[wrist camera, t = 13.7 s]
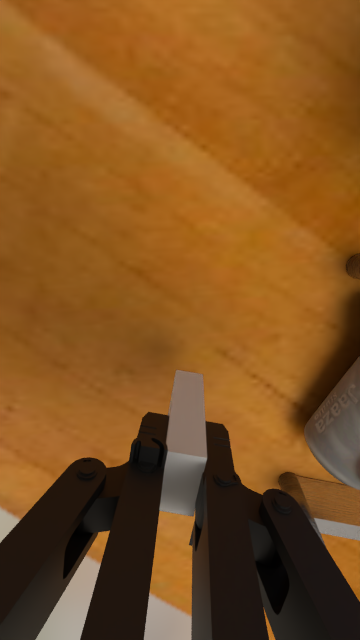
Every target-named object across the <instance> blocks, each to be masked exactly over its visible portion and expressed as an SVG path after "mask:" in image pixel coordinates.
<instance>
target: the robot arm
mask: <svg viewBox="0 0 360 640" xmlns="http://www.w3.org/2000/svg"><path fill="white" fill-rule="evenodd" d="M159 511H165V512H171V513H177V514H182V515H188V516H193V515H194V511H195V522H194V526H193V530H192V535H191V539H190V543H189V545H191V546H192V544H193V554H192V640H269V637H268V631H267V626H266V620H265V614H264V610H265V612H266V615H267V618H268V620H269V623H270V626H271V628H272V631H273V634H274V637H275V639H276V640H360V602H359V600H358V599H357V597H356V595H355V594H354V592H353V591H352V589H351V587H350V586H349V584H348V583H347V581H346V579H345V578H344V576H343V575H342V573H341V571H340V570H339V568H338V566H337V565H336V563H335V562H334V560H333V558H332V557H331V555H330V554H329V552H328V550H327V549H326V547H325V546H324V544H323V542H322V541H321V539H320V537H319V536H318V534H317V533H316V531H315V529H314V528H313V526H312V525H311V523H310V521H309V520H308V518H307V517H306V515H305V513H304V512H303V510H302V508H301V507H300V505H299V504H298V502H297V501H296V500H295V499H294V498H293V497H292V496H291V495H289V494H288V493H286V492H284V491H282V490H279V489H269V490H267V491H265V492H264V493H263V495H261V494H259V493H257V492H254V491H252V490H250V489H248V488H247V487H245V486H244V485H243V484H242V483H241V480H240V478H239V476H238V475H237V474H236V473H235V471H234V465H233V459H232V452H231V448H230V441H229V434H228V431H227V429H226V428H225V427H224V425H223V424H219V423H213V422H207V421H205V406H204V387H203V374H198V373H192V372H187V371H181V370H176V374H175V379H174V385H173V390H172V395H171V401H170V406H169V412H168V415H163V414H157V413H152V412H148V413H147V414H146V415H145V416H144V417H143V418H142V422H141V425H140V429H139V433H138V436H137V438H136V439H134V441H133V443H132V445H131V452H130V458H129V461H128V462H126V463H125V464H123V465H121V466H117V467H110V468H106V466H105V465H104V463H103V462H101V461H100V460H98V459H95V458H82V459H79V460H76V461H75V462H73V463H72V464H71V465H70V466H69V467H68V468H67V469H66V470H65V471H64V473H63V474H62V475H61V476H60V477H59V478H58V479H57V480H56V481H55V483H54V484H53V485H52V486H51V487H50V488H49V489H48V490H47V491H46V493H45V494H44V495H43V496H42V497H41V498H40V499H39V500H38V501H37V503H36V504H35V505H34V506H33V507H32V508H31V509H30V510H29V512H28V513H27V514H26V515H25V516H24V517H23V518H22V519H21V520H20V522H19V523H18V524H17V525H16V526H15V527H14V528H13V530H11V532H10V533H9V534H8V535H7V536H6V537H5V538H4V539H3V540H2V542H1V543H0V640H35V639H36V638H37V636H38V634H39V633H40V631H41V629H42V628H43V626H44V624H45V623H46V621H47V619H48V617H49V616H50V614H51V612H52V611H53V609H54V607H55V606H56V604H57V602H58V601H59V599H60V597H61V596H62V594H63V592H64V591H65V589H66V587H67V585H68V584H69V582H70V580H71V579H72V577H73V575H74V574H75V572H76V570H77V568H78V567H79V565H80V564H81V562H82V560H83V559H84V557H85V555H86V554H87V552H88V550H89V549H90V547H91V545H92V543H93V542H94V540H95V538H96V537H97V535H98V532H103V531H109V530H110V533H109V537H108V540H107V544H106V548H105V551H104V555H103V558H102V562H101V566H100V570H99V573H98V577H97V580H96V584H95V588H94V592H93V595H92V599H91V602H90V606H89V609H88V613H87V617H86V620H85V624H84V628H83V631H82V635H81V639H80V640H144V632H145V623H146V615H147V607H148V599H149V591H150V583H151V574H152V566H153V558H154V550H155V542H156V534H157V525H158V517H159ZM263 607H264V609H263Z"/></svg>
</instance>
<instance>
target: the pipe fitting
mask: <svg viewBox="0 0 360 640" xmlns="http://www.w3.org/2000/svg"><path fill="white" fill-rule="evenodd" d="M304 435H305V439H306V442H307V444H308V446H309V448H310V450H311V452H312V453H313V455H314V457H315V458H316V459H317V461H318V462H319V463H320V464H321V465H322V466H323V467H324V468H325V469H326V470H327V471H328V472H329V473H330V474H331V475H333V476H334V477H335V478H336V479H338V480H339V481H341V482H342V483H344V484H346V485H348V486H350V487H352V488H355V489H357V490H360V356H359V357H358V358H357V360H356V361H355V362H354V363H353V365H352V366H351V367H350V368H349V370H348V371H347V372H346V373H345V375H344V376H343V377H342V379H341V380H340V381H339V382H338V384H337V385H336V386H335V387H334V389H333V390H332V391H331V392H330V394H329V395H328V396H327V397H326V399H325V400H324V401H323V402H322V404H321V405H320V406H319V407H318V409H317V410H316V411H315V413H314V414H313V415H312V417H311V418H310V419H309V421H308V422H307V424H306V425H305V428H304Z"/></svg>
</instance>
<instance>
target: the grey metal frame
mask: <svg viewBox="0 0 360 640" xmlns="http://www.w3.org/2000/svg"><path fill="white" fill-rule="evenodd" d="M346 270H347V273H348V274H349V275H350V276H351V277H354V278H357V279H360V254H357V255H354V256H353V257H351V258H350V259H349V261H348V262H347V265H346ZM279 484H280V488H281V490H282V491H284V492H286V493H288V494H289V495H291V496H292V497H293V498H294V499H295V500H296V501H297V502H298V504H299V505H300V507H301V508H302V510H303V512H304V513H305V515H306V517H307V518H308V520H309V521H310V523H311V525H312V526H313V528H314V529H315V531H316V533H317V534H318V536H319V537H320V539H321V541H322V542H323V544H324V541H323V539H322V537H321V534H320V533H323V534H329V535H334V536H339V537H344V538H349V539H355V540H360V490H357V489H355V488H352V487H350V486H347V485H342V484H337V483H332V482H326V481H321V480H316V479H310V478H305V477H300V476H296V475H295V474H293V473H284V474H282V475H281V476H280V478H279ZM324 546H325V544H324ZM325 547H326V546H325Z"/></svg>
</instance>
